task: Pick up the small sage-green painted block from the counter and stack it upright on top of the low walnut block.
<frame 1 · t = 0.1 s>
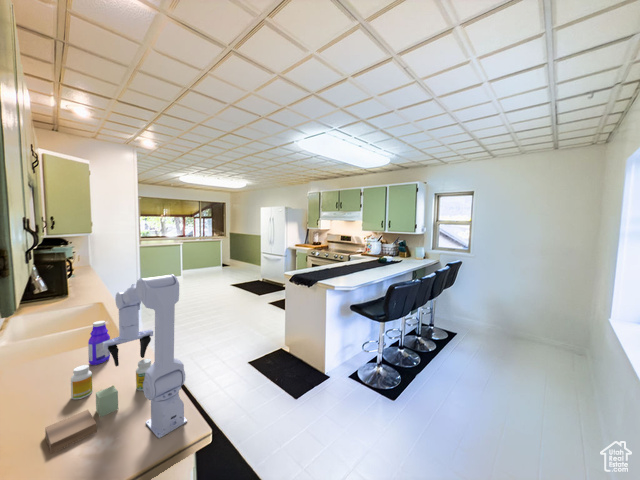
hand: (129, 360, 92), 10 cm above the counter, tool pointing down, fingers open, 7 cm apart
supplement bottle 2: (82, 395, 89), on the counter
sage block: (107, 410, 81), on the counter
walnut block: (71, 435, 72), on the counter
bottle: (99, 362, 110), on the counter
supplement bottle: (145, 387, 94), on the counter
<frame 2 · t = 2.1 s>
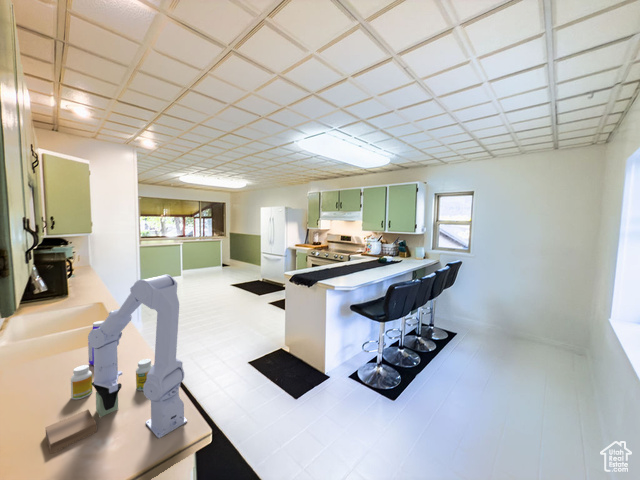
hand: (107, 405, 81), 2 cm above the counter, tool pointing down, fingers closed on sage block, 4 cm apart
sage block: (107, 409, 81), on the counter, touching gripper
everything else where it was.
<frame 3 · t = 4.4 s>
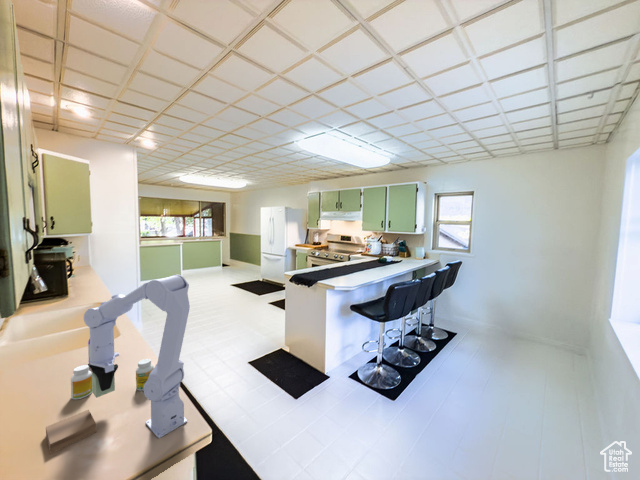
hand: (103, 386, 80), 8 cm above the counter, tool pointing down, fingers closed on sage block, 4 cm apart
sage block: (103, 391, 80), point 7 cm above the counter, touching gripper
everything else where it was.
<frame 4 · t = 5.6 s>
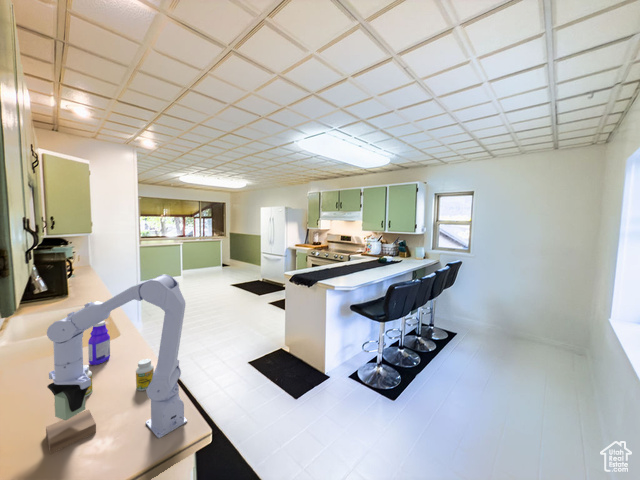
hand: (70, 407, 72), 8 cm above the counter, tool pointing down, fingers closed on sage block, 4 cm apart
sage block: (70, 412, 72), point 6 cm above the counter, touching gripper
everything else where it was.
when the fingers open (6 cm above the counter, at t = 6.5 s): sage block drops 2 cm, resting on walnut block.
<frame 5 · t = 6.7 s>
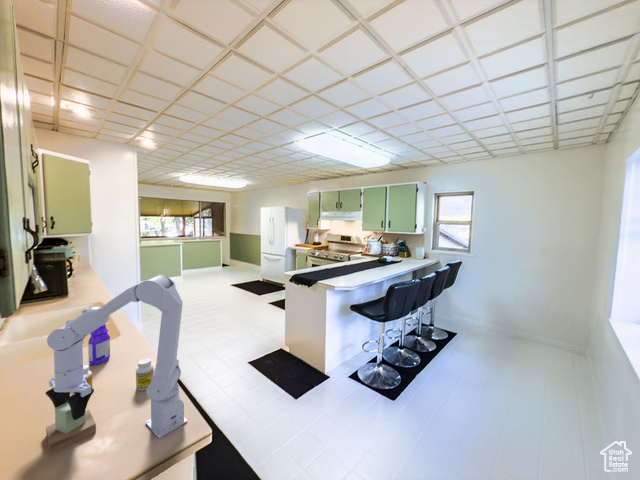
hand: (70, 414, 72), 6 cm above the counter, tool pointing down, fingers open, 6 cm apart
sage block: (70, 425, 72), point 2 cm above the counter, touching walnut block
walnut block: (71, 435, 72), on the counter, touching sage block
everything else where it was.
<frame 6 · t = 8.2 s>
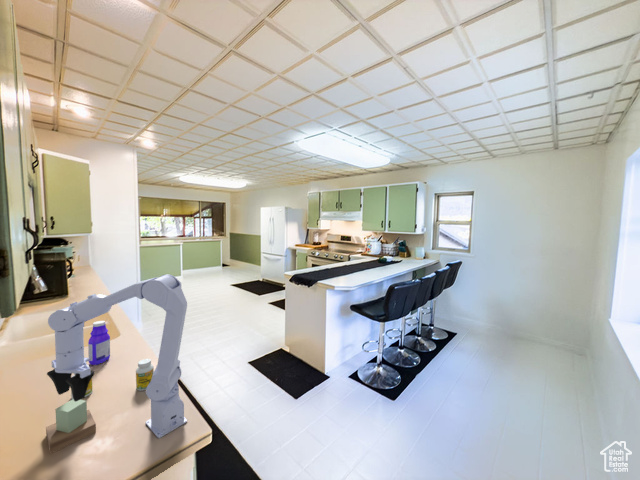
hand: (71, 395, 72), 10 cm above the counter, tool pointing down, fingers open, 7 cm apart
sage block: (72, 425, 72), point 3 cm above the counter
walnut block: (71, 435, 72), on the counter
everything else where it was.
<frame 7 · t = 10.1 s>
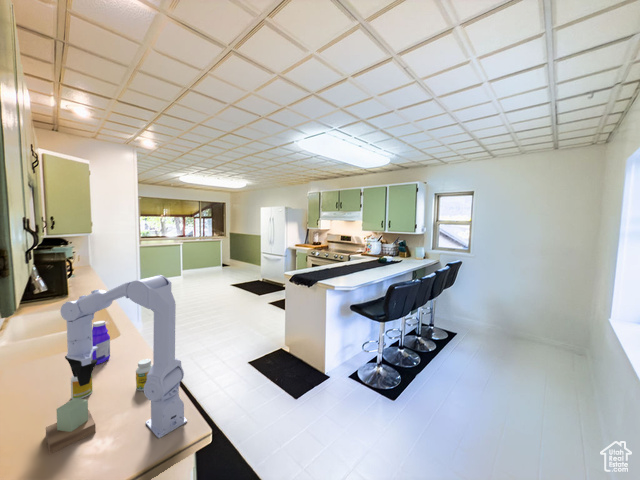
hand: (81, 379, 80), 10 cm above the counter, tool pointing down, fingers open, 7 cm apart
sage block: (73, 424, 72), point 2 cm above the counter, touching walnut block
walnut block: (71, 435, 72), on the counter, touching sage block
everything else where it was.
at the end: sage block 0.4 cm off-centre on the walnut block, point 3.0 cm above the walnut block's base; sage block tilted 1°; the gripper is holding nothing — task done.
